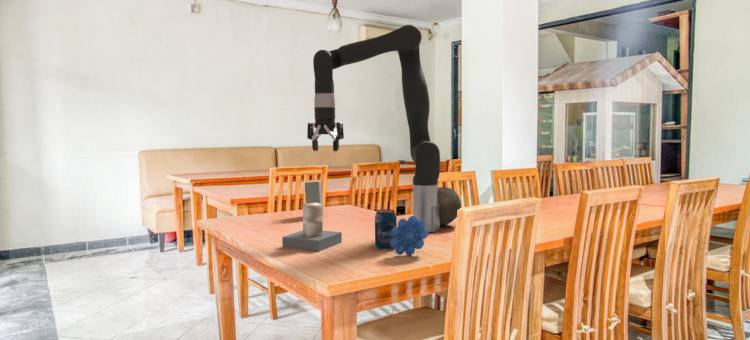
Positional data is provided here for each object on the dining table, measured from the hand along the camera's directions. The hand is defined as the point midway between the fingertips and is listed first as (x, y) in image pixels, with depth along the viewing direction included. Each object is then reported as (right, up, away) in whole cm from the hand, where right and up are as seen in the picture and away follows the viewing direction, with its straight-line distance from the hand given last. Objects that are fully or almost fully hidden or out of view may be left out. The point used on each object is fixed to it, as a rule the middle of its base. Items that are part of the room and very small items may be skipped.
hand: (325, 151), depth 188 cm
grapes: (+28, -33, -33) cm, 54 cm away
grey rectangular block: (-8, -28, +36) cm, 46 cm away
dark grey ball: (+45, -29, +12) cm, 55 cm away
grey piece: (-2, -28, -19) cm, 34 cm away
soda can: (+22, -32, -24) cm, 46 cm away
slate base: (-2, -32, -19) cm, 37 cm away
